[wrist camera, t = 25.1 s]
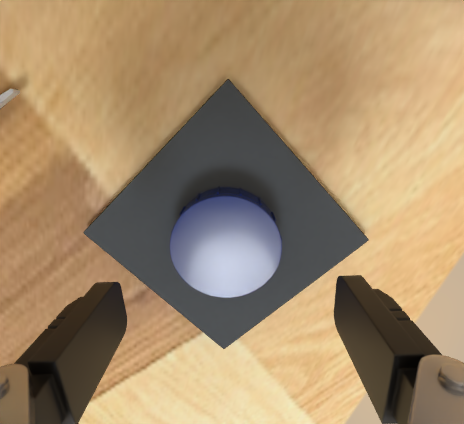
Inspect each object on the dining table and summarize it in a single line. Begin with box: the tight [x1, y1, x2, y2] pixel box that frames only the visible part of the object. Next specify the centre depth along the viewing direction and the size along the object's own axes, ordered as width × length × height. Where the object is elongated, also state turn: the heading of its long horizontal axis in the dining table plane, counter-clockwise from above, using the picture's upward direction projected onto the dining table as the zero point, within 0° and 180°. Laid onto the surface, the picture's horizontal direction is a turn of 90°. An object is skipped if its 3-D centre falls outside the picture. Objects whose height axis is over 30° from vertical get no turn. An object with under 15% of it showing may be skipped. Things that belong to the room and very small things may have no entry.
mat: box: [84, 79, 368, 349], centre depth 17 cm, size 12×12×1 cm
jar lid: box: [169, 186, 282, 298], centre depth 15 cm, size 6×6×2 cm
